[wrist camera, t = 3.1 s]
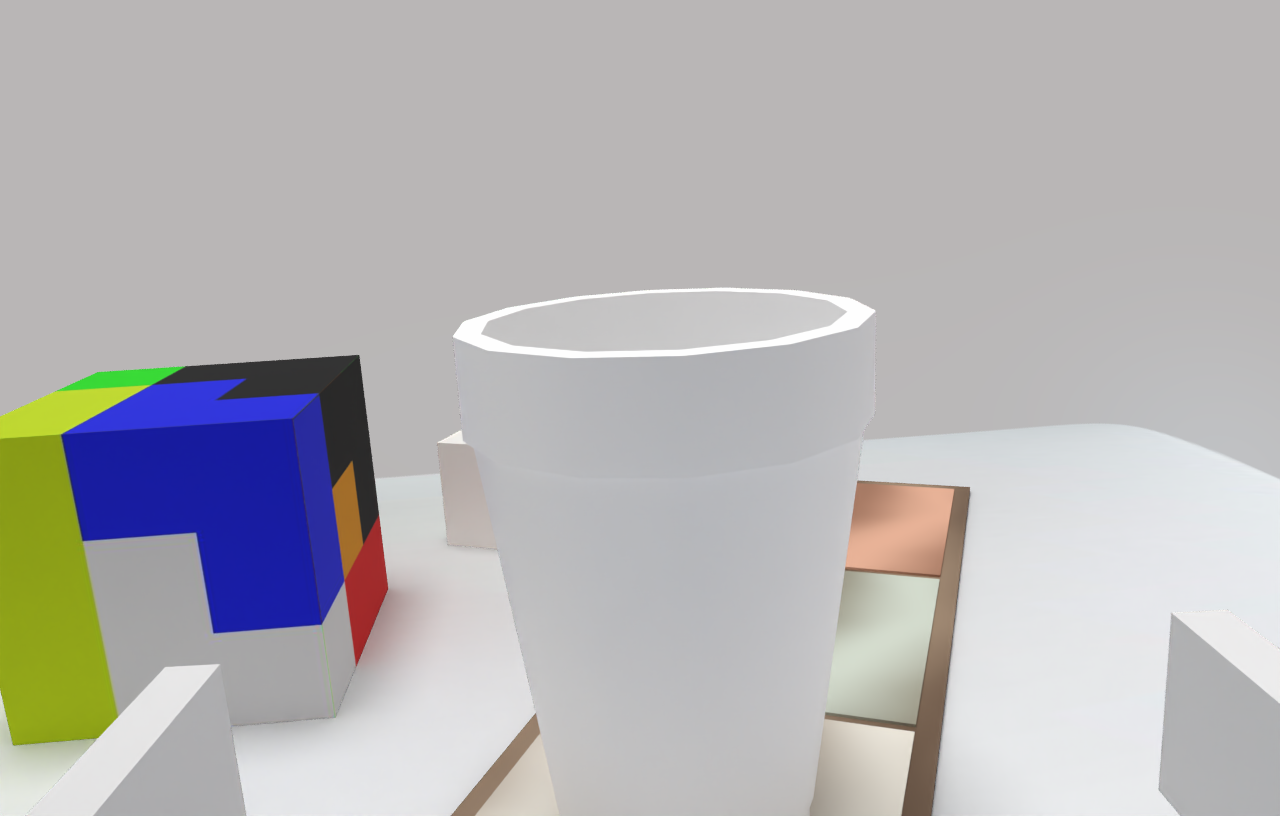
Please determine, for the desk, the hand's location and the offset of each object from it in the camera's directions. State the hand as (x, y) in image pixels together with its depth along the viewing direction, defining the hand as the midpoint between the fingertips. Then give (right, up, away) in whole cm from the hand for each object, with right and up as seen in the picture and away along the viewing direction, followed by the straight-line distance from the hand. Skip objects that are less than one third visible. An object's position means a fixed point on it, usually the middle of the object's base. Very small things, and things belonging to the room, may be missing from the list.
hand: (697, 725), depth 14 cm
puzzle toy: (-16, -5, +23) cm, 28 cm away
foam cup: (0, -6, +12) cm, 14 cm away
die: (-6, -1, +34) cm, 34 cm away
